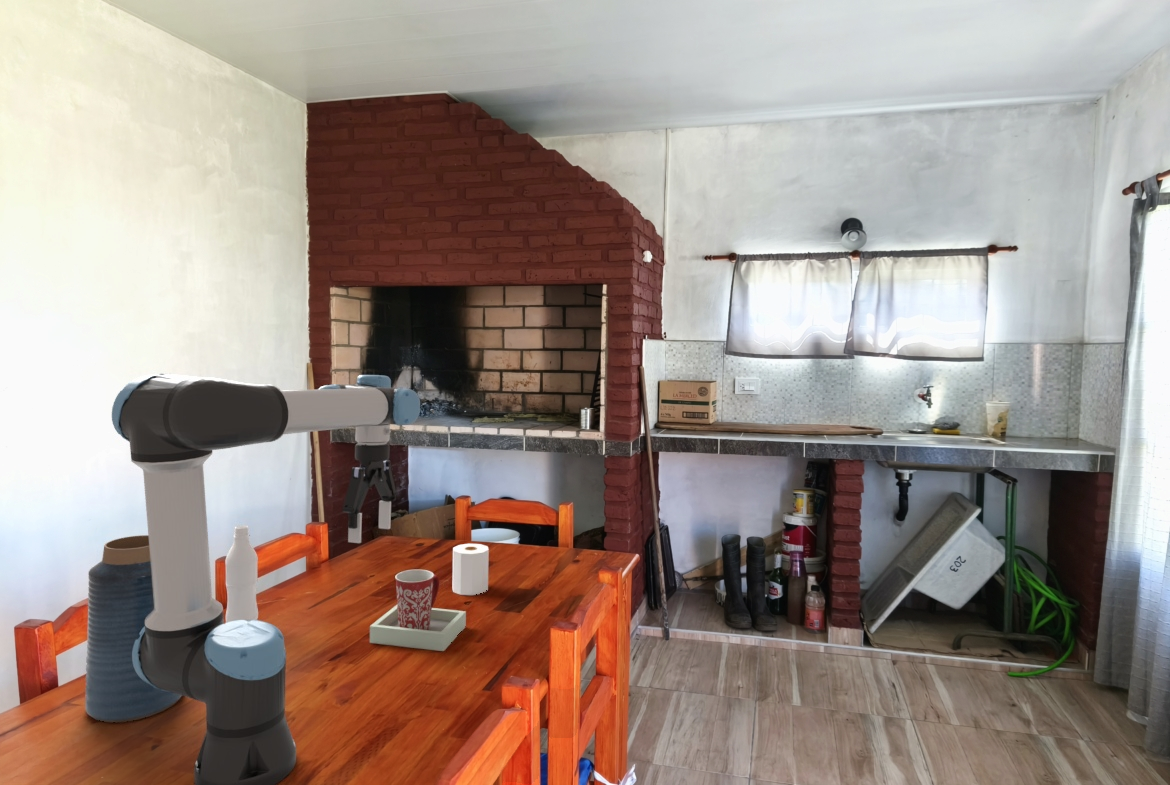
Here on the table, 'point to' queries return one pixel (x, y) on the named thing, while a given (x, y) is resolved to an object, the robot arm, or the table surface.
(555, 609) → the table surface
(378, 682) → the table surface
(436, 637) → the tray
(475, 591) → the toilet paper
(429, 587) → the mug
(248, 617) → the water bottle
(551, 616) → the table surface
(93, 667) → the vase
